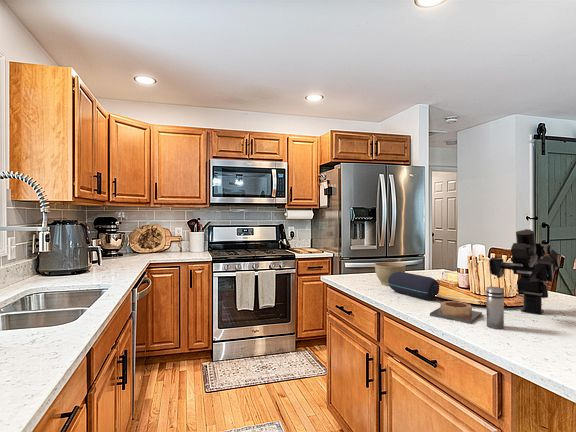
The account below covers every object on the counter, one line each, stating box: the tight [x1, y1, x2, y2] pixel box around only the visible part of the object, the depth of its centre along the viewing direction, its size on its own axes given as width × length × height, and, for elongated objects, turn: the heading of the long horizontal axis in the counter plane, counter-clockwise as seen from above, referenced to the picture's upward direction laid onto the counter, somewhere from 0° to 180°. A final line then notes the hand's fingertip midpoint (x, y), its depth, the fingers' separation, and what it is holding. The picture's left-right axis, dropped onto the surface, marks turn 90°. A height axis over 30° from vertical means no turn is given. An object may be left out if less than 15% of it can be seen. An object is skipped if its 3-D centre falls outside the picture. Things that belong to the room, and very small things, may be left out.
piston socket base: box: [429, 300, 483, 324], centre depth 130 cm, size 14×14×4 cm
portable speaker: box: [388, 272, 440, 301], centre depth 161 cm, size 25×10×10 cm, turn 28°
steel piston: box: [485, 286, 505, 330], centre depth 116 cm, size 5×5×13 cm
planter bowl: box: [374, 261, 407, 287], centre depth 187 cm, size 16×16×11 cm
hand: (512, 278), depth 117 cm, fingers open, 9 cm apart
